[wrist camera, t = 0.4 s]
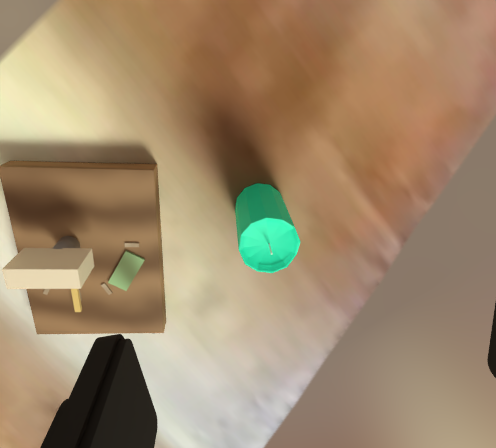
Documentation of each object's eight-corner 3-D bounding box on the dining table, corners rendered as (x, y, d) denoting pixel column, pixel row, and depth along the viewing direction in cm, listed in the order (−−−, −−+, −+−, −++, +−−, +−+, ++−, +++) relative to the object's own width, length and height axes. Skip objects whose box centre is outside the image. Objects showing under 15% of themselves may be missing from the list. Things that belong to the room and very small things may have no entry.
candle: (254, 237, 48) (264, 292, 37) (224, 202, 45) (226, 249, 34) (293, 210, 46) (315, 258, 35) (265, 173, 44) (279, 211, 33)
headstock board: (10, 160, 42) (-4, 167, 39) (157, 164, 43) (153, 171, 40) (45, 321, 51) (36, 335, 48) (166, 320, 52) (163, 334, 49)
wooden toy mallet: (35, 235, 42) (1, 268, 36) (99, 236, 43) (77, 268, 36) (50, 308, 47) (22, 350, 40) (108, 308, 47) (90, 349, 41)
